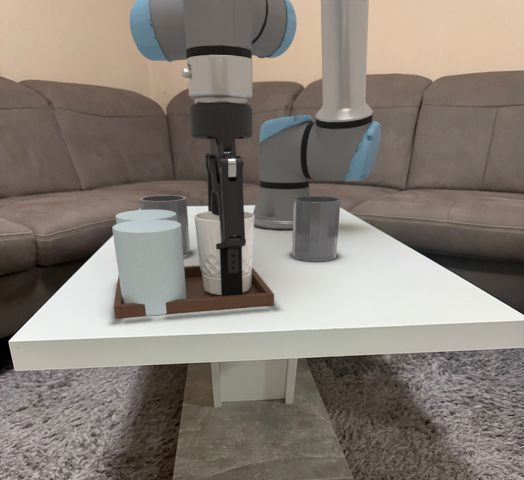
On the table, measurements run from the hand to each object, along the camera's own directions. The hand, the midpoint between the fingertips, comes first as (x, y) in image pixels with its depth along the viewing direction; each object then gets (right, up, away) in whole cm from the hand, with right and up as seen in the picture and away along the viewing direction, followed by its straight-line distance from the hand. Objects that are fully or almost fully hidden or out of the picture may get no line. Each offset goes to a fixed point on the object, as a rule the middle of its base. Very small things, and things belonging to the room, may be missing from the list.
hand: (226, 286), depth 64 cm
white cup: (0, 0, 0) cm, 0 cm away
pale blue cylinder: (-9, -3, -5) cm, 11 cm away
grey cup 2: (+15, +8, +19) cm, 26 cm away
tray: (-5, -1, -1) cm, 5 cm away
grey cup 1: (-12, +9, +20) cm, 25 cm away
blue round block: (-11, 0, +2) cm, 11 cm away
